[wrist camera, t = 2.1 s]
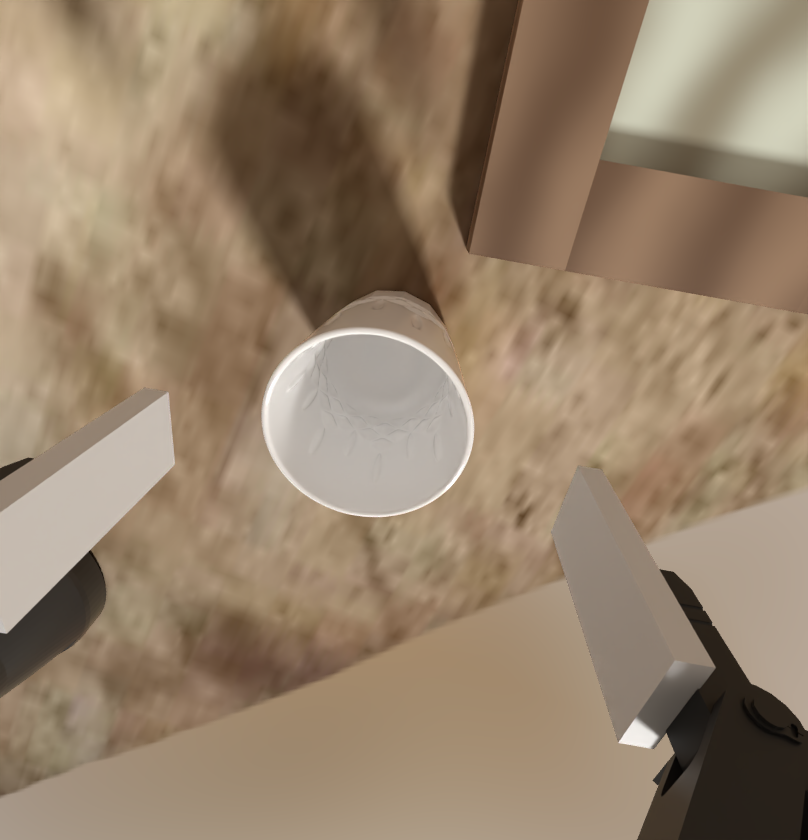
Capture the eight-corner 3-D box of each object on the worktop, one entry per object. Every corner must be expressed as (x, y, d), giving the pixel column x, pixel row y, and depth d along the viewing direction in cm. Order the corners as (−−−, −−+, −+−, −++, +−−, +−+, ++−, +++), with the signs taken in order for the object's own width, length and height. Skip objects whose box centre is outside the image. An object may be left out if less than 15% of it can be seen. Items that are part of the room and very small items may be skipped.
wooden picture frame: (465, 248, 23) (469, 253, 21) (610, -439, 14) (643, -557, 12) (847, 316, 23) (889, 328, 21) (1235, -311, 14) (1379, -403, 12)
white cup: (426, 252, 23) (420, 287, 14) (480, 383, 26) (504, 481, 17) (296, 314, 25) (218, 380, 16) (361, 430, 28) (326, 540, 19)
